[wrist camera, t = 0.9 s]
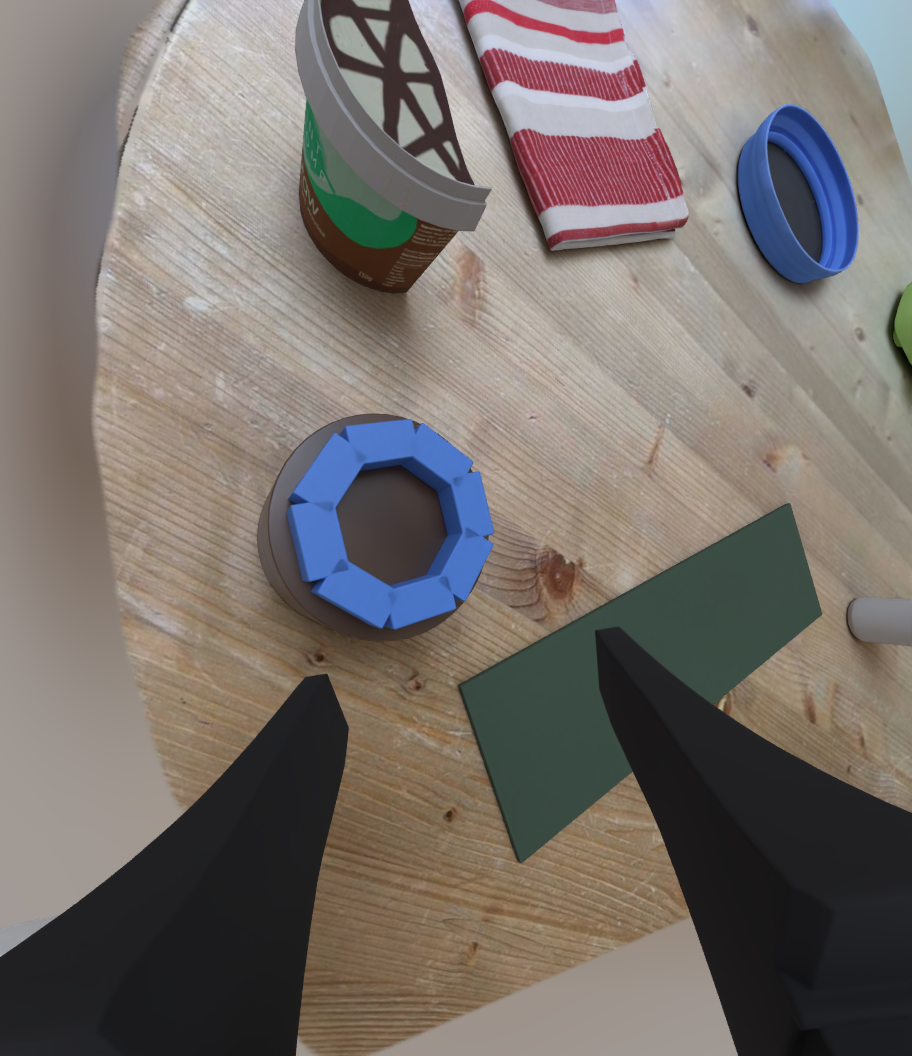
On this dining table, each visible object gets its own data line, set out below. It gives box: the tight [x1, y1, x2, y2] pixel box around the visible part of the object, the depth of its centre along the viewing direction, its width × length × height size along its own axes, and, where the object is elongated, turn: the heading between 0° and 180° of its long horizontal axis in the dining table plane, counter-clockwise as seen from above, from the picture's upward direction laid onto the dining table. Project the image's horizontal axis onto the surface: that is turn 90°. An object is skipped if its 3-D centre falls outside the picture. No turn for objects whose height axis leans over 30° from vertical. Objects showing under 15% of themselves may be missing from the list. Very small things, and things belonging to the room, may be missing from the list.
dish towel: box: [459, 0, 689, 251], centre depth 36 cm, size 17×23×3 cm
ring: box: [286, 419, 494, 630], centre depth 19 cm, size 8×8×2 cm
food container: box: [295, 0, 492, 293], centre depth 23 cm, size 12×6×10 cm, turn 23°
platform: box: [257, 414, 488, 641], centre depth 23 cm, size 10×10×7 cm
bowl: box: [738, 104, 859, 283], centre depth 50 cm, size 18×18×4 cm
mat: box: [458, 503, 822, 863], centre depth 37 cm, size 40×12×1 cm, turn 111°
